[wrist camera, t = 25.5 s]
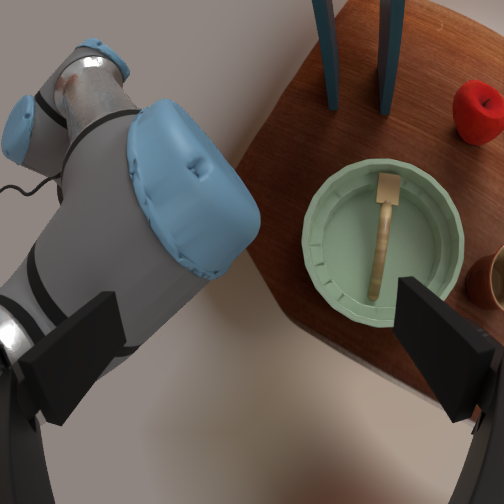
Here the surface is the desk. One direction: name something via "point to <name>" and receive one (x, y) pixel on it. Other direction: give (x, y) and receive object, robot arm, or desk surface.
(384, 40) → the teal arch block
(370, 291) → the wooden mallet
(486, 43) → the desk surface
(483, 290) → the mug
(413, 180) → the bowl
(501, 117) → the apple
